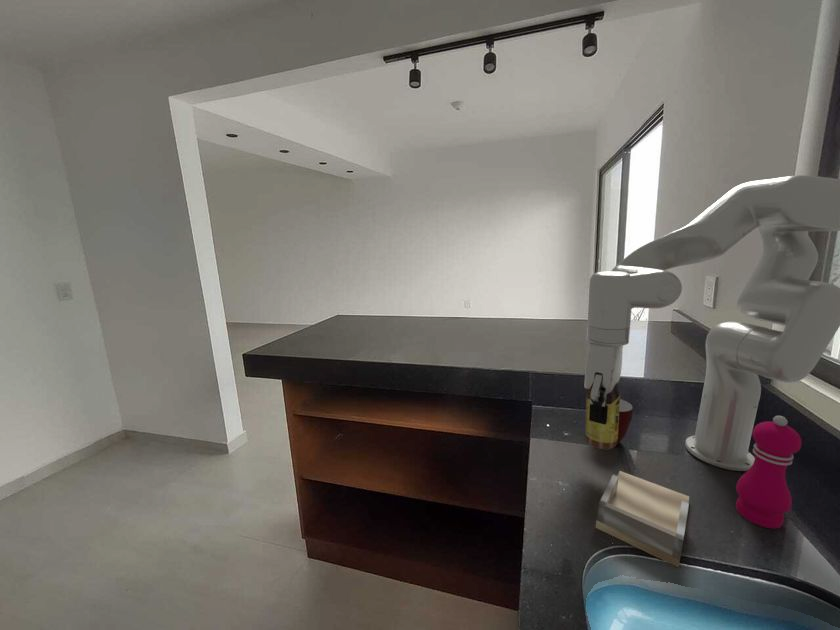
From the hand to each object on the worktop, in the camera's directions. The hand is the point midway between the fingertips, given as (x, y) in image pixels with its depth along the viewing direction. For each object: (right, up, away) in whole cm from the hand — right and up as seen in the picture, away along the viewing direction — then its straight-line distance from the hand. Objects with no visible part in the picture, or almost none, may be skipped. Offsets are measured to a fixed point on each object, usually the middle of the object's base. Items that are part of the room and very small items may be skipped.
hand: (602, 414), depth 75 cm
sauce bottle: (0, -7, +2) cm, 7 cm away
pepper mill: (+23, -16, -10) cm, 30 cm away
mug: (+9, -10, +15) cm, 21 cm away
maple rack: (+3, -16, -9) cm, 19 cm away
